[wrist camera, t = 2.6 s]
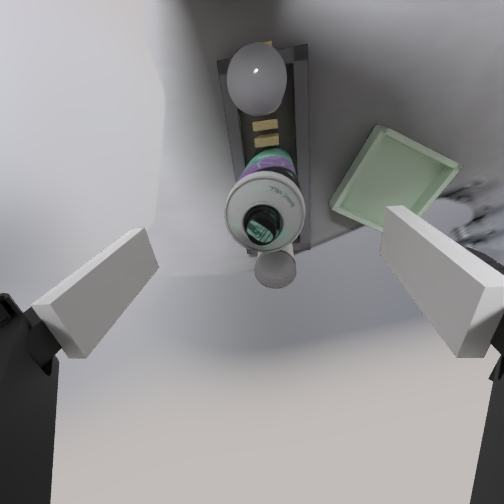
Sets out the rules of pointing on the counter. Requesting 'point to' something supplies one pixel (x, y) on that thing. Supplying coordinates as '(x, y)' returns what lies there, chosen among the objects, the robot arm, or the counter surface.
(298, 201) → the spray can
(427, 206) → the tray
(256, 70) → the fuse
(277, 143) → the fuse frame
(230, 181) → the counter surface
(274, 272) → the fuse
